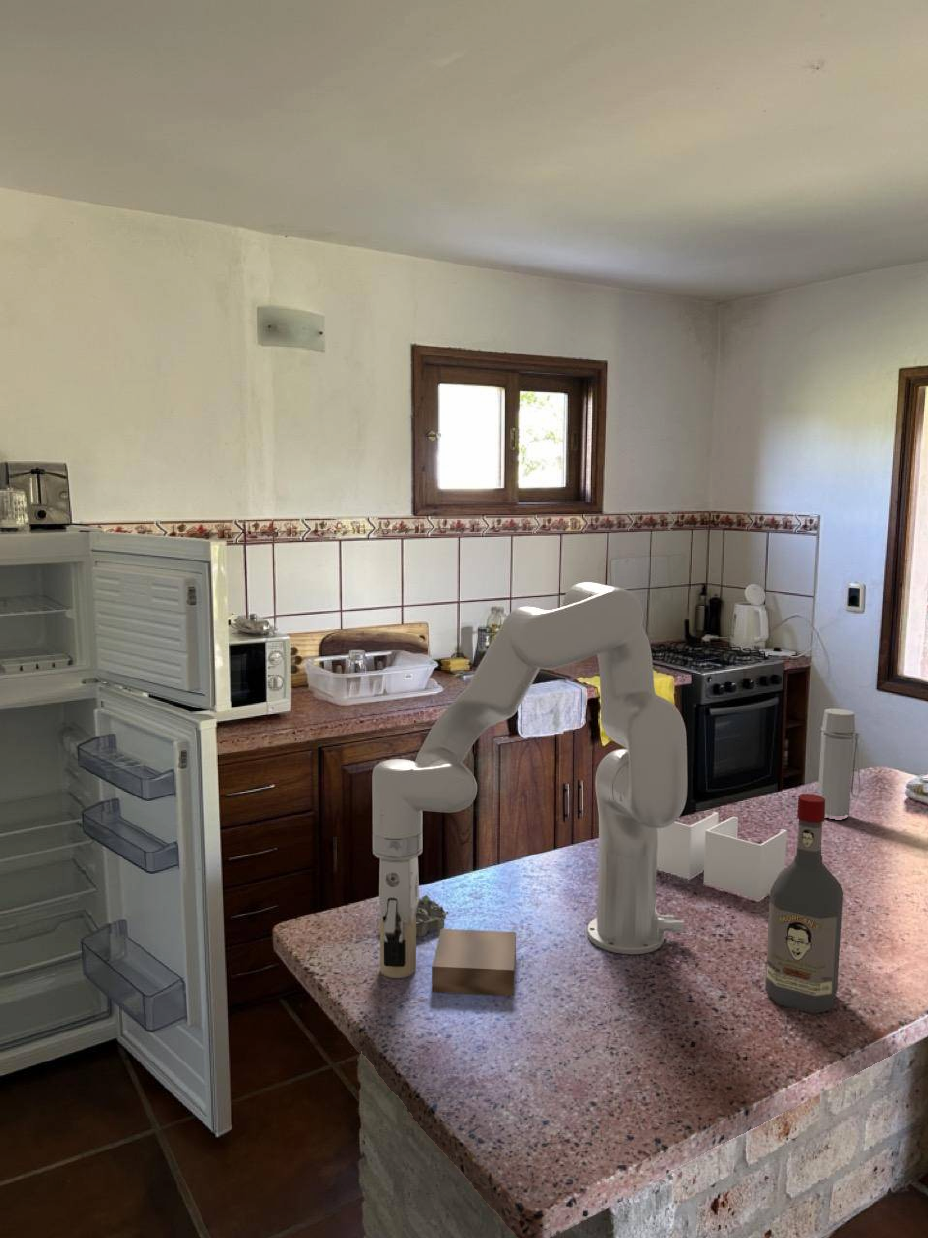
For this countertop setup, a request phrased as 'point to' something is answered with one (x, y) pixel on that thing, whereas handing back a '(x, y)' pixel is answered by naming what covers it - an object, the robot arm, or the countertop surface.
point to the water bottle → (837, 761)
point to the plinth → (474, 962)
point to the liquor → (805, 921)
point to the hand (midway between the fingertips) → (397, 954)
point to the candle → (409, 951)
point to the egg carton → (425, 910)
